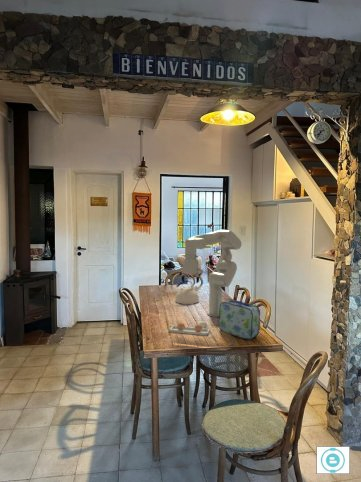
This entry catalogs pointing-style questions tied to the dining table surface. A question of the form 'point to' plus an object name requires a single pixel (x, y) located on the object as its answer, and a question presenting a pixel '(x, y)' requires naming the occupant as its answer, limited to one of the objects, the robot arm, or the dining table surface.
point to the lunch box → (239, 319)
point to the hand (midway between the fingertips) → (190, 282)
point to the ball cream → (203, 324)
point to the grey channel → (190, 330)
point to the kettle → (187, 294)
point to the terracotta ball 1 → (180, 326)
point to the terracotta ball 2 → (198, 328)
